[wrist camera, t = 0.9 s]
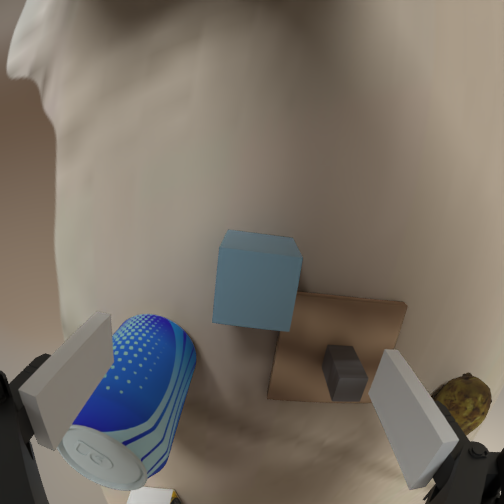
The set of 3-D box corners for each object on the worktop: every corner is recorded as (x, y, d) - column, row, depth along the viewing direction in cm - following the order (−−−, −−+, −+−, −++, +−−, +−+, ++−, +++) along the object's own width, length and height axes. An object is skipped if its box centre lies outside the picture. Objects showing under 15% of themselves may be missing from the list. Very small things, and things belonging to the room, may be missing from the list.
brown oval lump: (399, 437, 34) (418, 479, 26) (434, 359, 31) (466, 399, 23) (446, 429, 34) (468, 466, 26) (482, 355, 31) (516, 388, 23)
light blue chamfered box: (228, 229, 28) (219, 247, 21) (292, 237, 28) (302, 257, 22) (221, 290, 29) (212, 322, 23) (282, 297, 29) (289, 331, 23)
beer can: (184, 301, 30) (123, 417, 14) (208, 373, 32) (180, 501, 16) (109, 315, 30) (22, 411, 15) (137, 381, 32) (83, 490, 17)
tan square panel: (286, 289, 29) (293, 321, 23) (403, 301, 29) (433, 331, 23) (267, 393, 32) (268, 435, 26) (371, 397, 32) (387, 435, 26)
